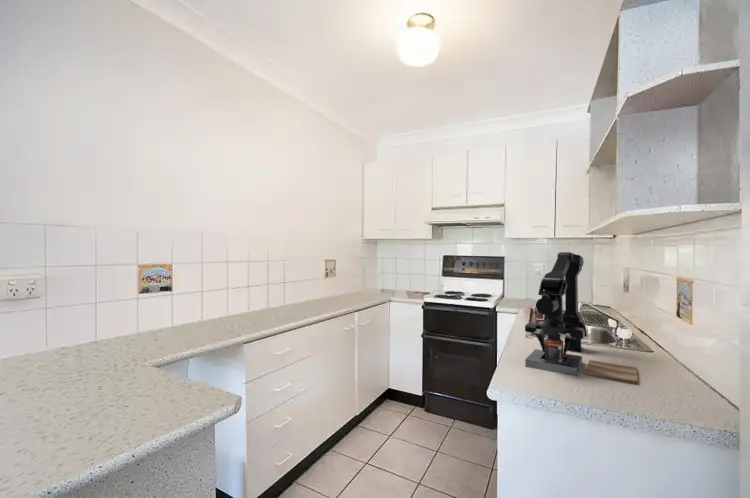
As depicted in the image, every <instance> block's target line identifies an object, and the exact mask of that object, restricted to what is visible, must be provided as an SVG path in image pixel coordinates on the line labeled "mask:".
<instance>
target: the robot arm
mask: <svg viewBox="0 0 750 498" xmlns="http://www.w3.org/2000/svg"><path fill="white" fill-rule="evenodd" d="M584 264H585V263H584V258H583V256H581V255H580V254H575V253H573V252H570V251H568V252H566V251H565V252H564V251H563V252H558V253H557V259H556V261H555V263H554V265H553V267H552V269H551V270H550V271H549V272H547V273H545V274H544V276H543V277H542V278H541V281H540V284H539V289H538V293H537V294H538V296H541V298H539V299H538V300H537V301H536V303H535V309H536V310H537V311H538V313H540V314H541V315H543V316H544V319H543V322H542V324H541V325H540V322H539V323H538V322H534V321H533V322H532V321H529V322H528V323H526V324H525V325H524V332H526V333H532V335H533V336H535V337H536V338H537V339H538V342H539V344H540V347H541V350H543V352H545V340H546V339H545V338H546V337H545V336H546V335H547V336H548V334H550V335H554V336H556V335H558V334H560V335H565V337H564V343H563V353H564V356H565V355H566V354H567V352H568V351H570V352H571V351H573V352H579V353H582V352H583V350H584V347H583V346H582V339H584V338H587V337H588V336H587V335H588V334H587V333H588V331H587V327H586V325H585V322H584V321H583V320H584V319H583V316H582V315H581V313H580V311H579V300H578V299H579V294H578V293H579V291H578V286H579V283H578V276H579V275H580V273H581V272H582V270H583V266H584ZM564 296H565V299H564V300H565V302H563V297H564ZM563 303H565V307H563ZM563 308H565V311H564V312H563Z"/></svg>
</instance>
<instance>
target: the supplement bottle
mask: <svg viewBox="0 0 750 498" xmlns="http://www.w3.org/2000/svg"><path fill="white" fill-rule="evenodd" d="M563 353H564V341H563V340H562V339H561V333H558V335H556V336H554V335H550V334H547V338H546V339H545V360H551V361H557V362H563ZM563 363H564V362H563Z"/></svg>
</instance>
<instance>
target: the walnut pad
mask: <svg viewBox="0 0 750 498" xmlns="http://www.w3.org/2000/svg"><path fill="white" fill-rule="evenodd" d="M584 376H585V377H592V378H596V379H603V380H607V381H614V382H620V383H624V384H630V385H636V386H638V383H639V382H638V367H636V366H630V365H624V364H618V363H611V362H604V361H597V360H592V359H589V360H588V362H587V365H586V368H585V370H584Z"/></svg>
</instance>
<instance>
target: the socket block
mask: <svg viewBox="0 0 750 498" xmlns="http://www.w3.org/2000/svg"><path fill="white" fill-rule="evenodd" d="M524 361H525V367H527V368H532V369H533V368H534V369H539V370H543V371H549V372H554V373H559V374H564V375H571V376H578V374H579V372H580V369H581V367H582V365H583V356H582V355H578V354H576V355H575V354H569V353H566V355H565V356H564V352H563V362H564V363H563V362H557V361H551V360H545V352H543V350H542V349H538V348H537V349H535V348H534V349H533V351H532V352H531V353H530V354H529V355H528V356H527V357H526V358H525V360H524Z"/></svg>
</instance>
